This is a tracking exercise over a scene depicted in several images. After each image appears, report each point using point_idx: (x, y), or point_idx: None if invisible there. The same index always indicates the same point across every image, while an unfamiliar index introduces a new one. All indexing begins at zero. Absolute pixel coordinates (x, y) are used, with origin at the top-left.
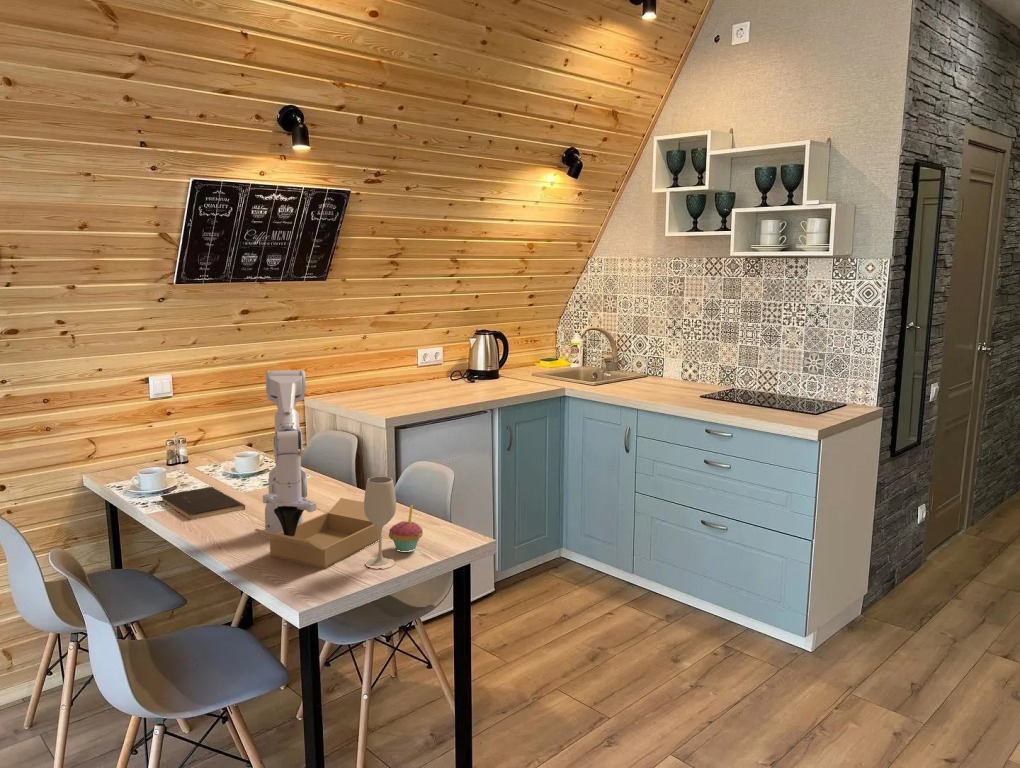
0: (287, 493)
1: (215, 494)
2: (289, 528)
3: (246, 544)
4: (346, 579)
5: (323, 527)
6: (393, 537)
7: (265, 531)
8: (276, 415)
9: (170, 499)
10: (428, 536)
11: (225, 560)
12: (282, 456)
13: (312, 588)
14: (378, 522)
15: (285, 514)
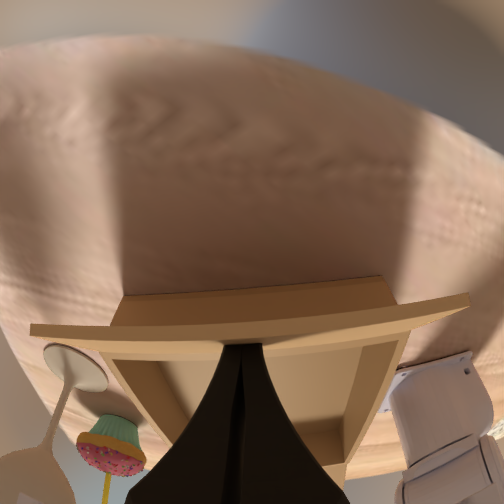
0: None
1: None
2: (205, 396)
3: (485, 290)
4: (26, 272)
5: (342, 429)
6: (101, 439)
7: (395, 315)
8: None
9: None
10: (151, 455)
11: (487, 167)
12: None
13: (20, 166)
14: (12, 452)
15: (177, 501)
